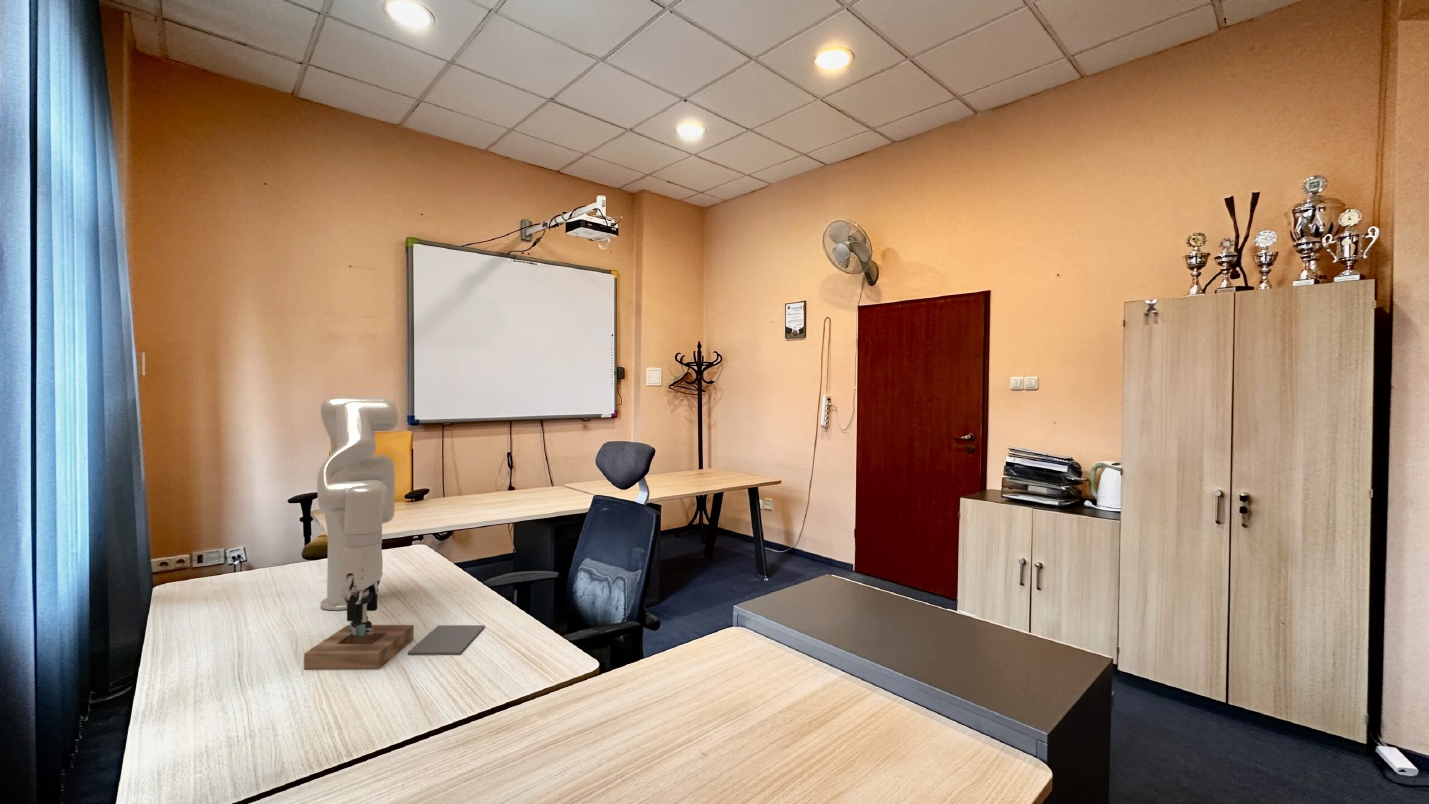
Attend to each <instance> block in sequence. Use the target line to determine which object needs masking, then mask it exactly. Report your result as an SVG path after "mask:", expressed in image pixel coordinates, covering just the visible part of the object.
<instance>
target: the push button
mask: <svg viewBox="0 0 1429 804" xmlns="http://www.w3.org/2000/svg"><path fill="white" fill-rule="evenodd" d="M352 595H355V597H356V598H357V593H353V594H352ZM372 596H373V592H370V591H369V590H368V589H364V590H363V593H362V598H361V603H363V619H362V620H361V621H349V625H350V632H351V633H353V635H356V634H357V635H360V636H364V635H367V634H369V635H371V634H373V633H372V632H370V631H371V630H373V629H371V628H372V625H373V623H372V621H370V620H369V616H368V614H367V613H368V611H367V604H368V603H369V602H371V600H372ZM370 629H371V630H370ZM370 633H371V634H370Z"/></svg>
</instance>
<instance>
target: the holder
mask: <svg viewBox="0 0 1429 804" xmlns="http://www.w3.org/2000/svg"><path fill="white" fill-rule="evenodd" d="M371 629H373V630H371ZM371 629H370V630H371V631H370V632H372V633H373V634H371V633H370V634H371V635H369V634H367V635H364V636H360V635H357V634H356V635H353V633H351V632H350V624H346V625H345V626H344V627H342V628H341V629H339V630H338V631H336V632H335V633H333V634H331V635H330V636H329V637H327V638H326V639H324V640H323V641H321V642H319V643H317V645H315V646H313V647H312V648H310V649H309V650H307V651H306V652H304V653H303V654H304V655H303V670H380V668H381V667H383V666H384V665H385V664H386V663H387V662H388V661H389V660H391V659H392V658H393V657H394V656H395V655H397V654H398V653H399V652H400V651H402V649H403V648H404V647H406V646H407V645H408V644H410V643H411V642H412V641H414V637H415V636H414V633H415V632H414V631H415V627H414V624H372V628H371Z"/></svg>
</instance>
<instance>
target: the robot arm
mask: <svg viewBox="0 0 1429 804" xmlns="http://www.w3.org/2000/svg"><path fill="white" fill-rule="evenodd" d="M320 416H321V420H322V424H323V425H324V428H325V430H326V432H327V434H328V435H327V436H328V437H329V438H328V439H329V441H330V455H329V456H328V457H327V458H326V459H325V460H324V462H323V463H322V464H321V467H319V468H320V469H319V471H318V474H317V484H316V485H317V504H318V508H319V510H320V512H322V513H324V517H325V525H326V532H327V571H326V572H327V573H326V574H327V581H326V582H327V584H326V585H327V587H326V589H327V590H326V592H327V593H326V598H323V600H321V602H320V608H322V609H323V610H326V611H341V610H346V620H347V622H351V621H361V620H362V619H363V603H361V598H362V593H363V590H364V589H368V590H369V591H370V592H373V596H372V600H371V602H369V603H368V604H367V612H375V611H377V610H378V593H379V590H380V589H379V585H380V583H381V579H382V577H383V549H382V543H383V524H386V523H389V522H391V521H392V520H393V519H394V516H395V509H396V508H395V507H396V506H395V505H396V501H395V497H396V495H395V492H396V491H395V486H396V485H395V479H396V478H395V466H394V462H393V460H392V459H391V457H389V456H388V455H381V454H380V455H378V454H377V455H374V454H375V452H376V450H377V444H376V443H377V442H376V436H375V432H392V431H394V430H396V429H397V427H398V423H399V412H398V408H397V406H396V404H395V402H394V401H393V400H391V399H390V398H387V397H360V396H359V397H357V396H356V397H355V396H341V397H340V396H339V397H331V398H327V399H325V400H323V401H322V403H321V405H320ZM353 593H357V598H356V597H355V595H352V594H353Z"/></svg>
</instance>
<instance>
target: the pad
mask: <svg viewBox="0 0 1429 804" xmlns="http://www.w3.org/2000/svg"><path fill="white" fill-rule="evenodd" d="M485 628H486V626H485V624H482V625H480V624H477V625H476V624H475V625H471V624H470V625H469V624H468V625H467V624H466V625H465V624H464V625H463V624H456V625H455V624H454V625H453V624H450V625H449V624H448V625H446V624H445V625H443V624H441V625H439V624H438V625H437V626H436V627H435V628H433V629H432V630H431V631H430V632H429V633H428V634H427V635H426V636H424V637H423V638H422V639H421V640H420V641H419V642H418V643H416V645H414V646H413V647H412V648H411V649H410V650H409V651H408V652H407V656H443V655H444V656H458V655H459V656H460V655H461V654H462V653H463V652H465V650H466V649H467V647H469V645H471V643H472V642H473V641H474V640H475V639H476V638H477V637H478V636H479V635H480V634H481V632H483V630H485Z"/></svg>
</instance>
